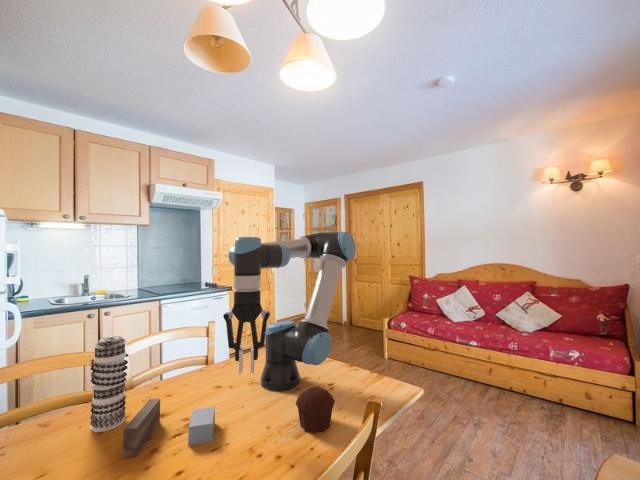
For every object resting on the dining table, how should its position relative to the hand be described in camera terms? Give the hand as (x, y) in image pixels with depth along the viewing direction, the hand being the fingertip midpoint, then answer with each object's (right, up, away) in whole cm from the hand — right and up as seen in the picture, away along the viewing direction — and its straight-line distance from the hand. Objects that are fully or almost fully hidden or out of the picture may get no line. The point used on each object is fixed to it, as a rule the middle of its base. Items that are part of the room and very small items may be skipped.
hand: (246, 371), depth 85 cm
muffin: (+20, -17, +2) cm, 26 cm away
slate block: (-12, -17, -2) cm, 21 cm away
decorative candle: (-42, -17, +3) cm, 45 cm away
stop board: (-27, -16, -4) cm, 32 cm away
